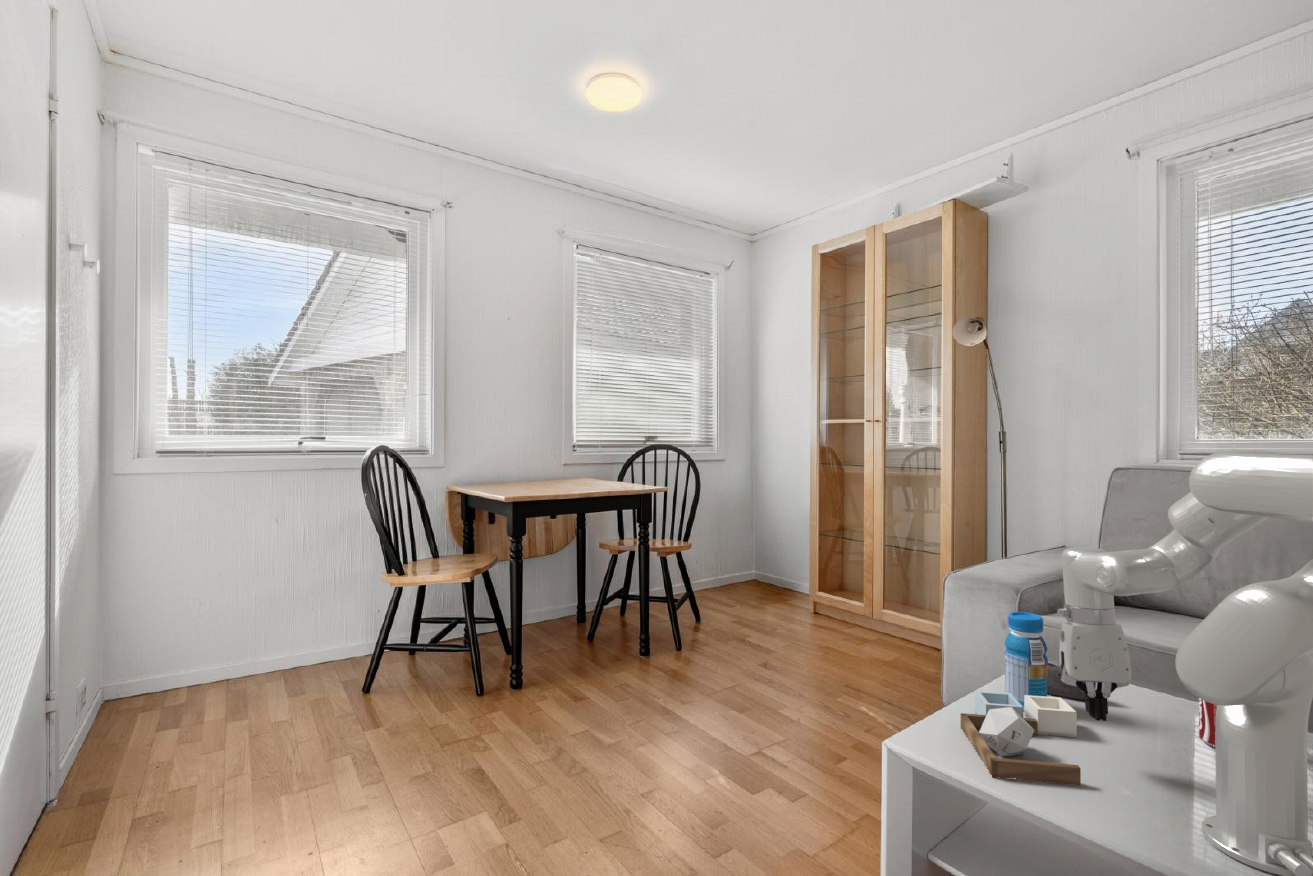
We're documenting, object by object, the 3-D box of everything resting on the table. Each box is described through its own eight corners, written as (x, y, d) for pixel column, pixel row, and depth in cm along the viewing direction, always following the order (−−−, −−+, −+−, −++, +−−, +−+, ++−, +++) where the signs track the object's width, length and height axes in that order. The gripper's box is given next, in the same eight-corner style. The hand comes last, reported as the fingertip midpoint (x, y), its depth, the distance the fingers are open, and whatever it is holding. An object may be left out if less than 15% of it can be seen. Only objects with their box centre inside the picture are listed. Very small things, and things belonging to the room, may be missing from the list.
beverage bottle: (1002, 707, 137) (1001, 616, 137) (1006, 694, 144) (1005, 608, 144) (1047, 716, 132) (1046, 623, 132) (1049, 702, 139) (1048, 614, 139)
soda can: (1255, 756, 116) (1255, 692, 116) (1214, 752, 117) (1213, 689, 117) (1230, 739, 122) (1229, 678, 122) (1190, 735, 123) (1190, 675, 124)
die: (972, 753, 118) (995, 727, 112) (973, 716, 125) (995, 689, 119) (1017, 775, 116) (1043, 749, 110) (1016, 735, 122) (1040, 709, 117)
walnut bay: (1080, 785, 106) (1080, 768, 106) (991, 777, 109) (991, 760, 109) (1035, 733, 124) (1035, 719, 125) (960, 727, 127) (960, 713, 127)
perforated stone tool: (1107, 701, 140) (1106, 671, 140) (1105, 709, 136) (1105, 677, 136) (1030, 685, 150) (1030, 656, 150) (1026, 691, 146) (1026, 662, 146)
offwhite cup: (1076, 737, 123) (1076, 712, 123) (1038, 734, 124) (1037, 709, 124) (1060, 721, 130) (1060, 697, 130) (1024, 718, 131) (1024, 695, 131)
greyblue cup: (1023, 731, 125) (1023, 707, 125) (986, 728, 127) (986, 704, 127) (1010, 716, 132) (1010, 693, 132) (975, 714, 134) (975, 690, 134)
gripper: (1054, 619, 112) (1061, 724, 110) (1147, 620, 109) (1156, 728, 107) (1037, 610, 119) (1043, 708, 118) (1124, 611, 116) (1131, 712, 115)
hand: (1097, 717), depth 113 cm, fingers closed
